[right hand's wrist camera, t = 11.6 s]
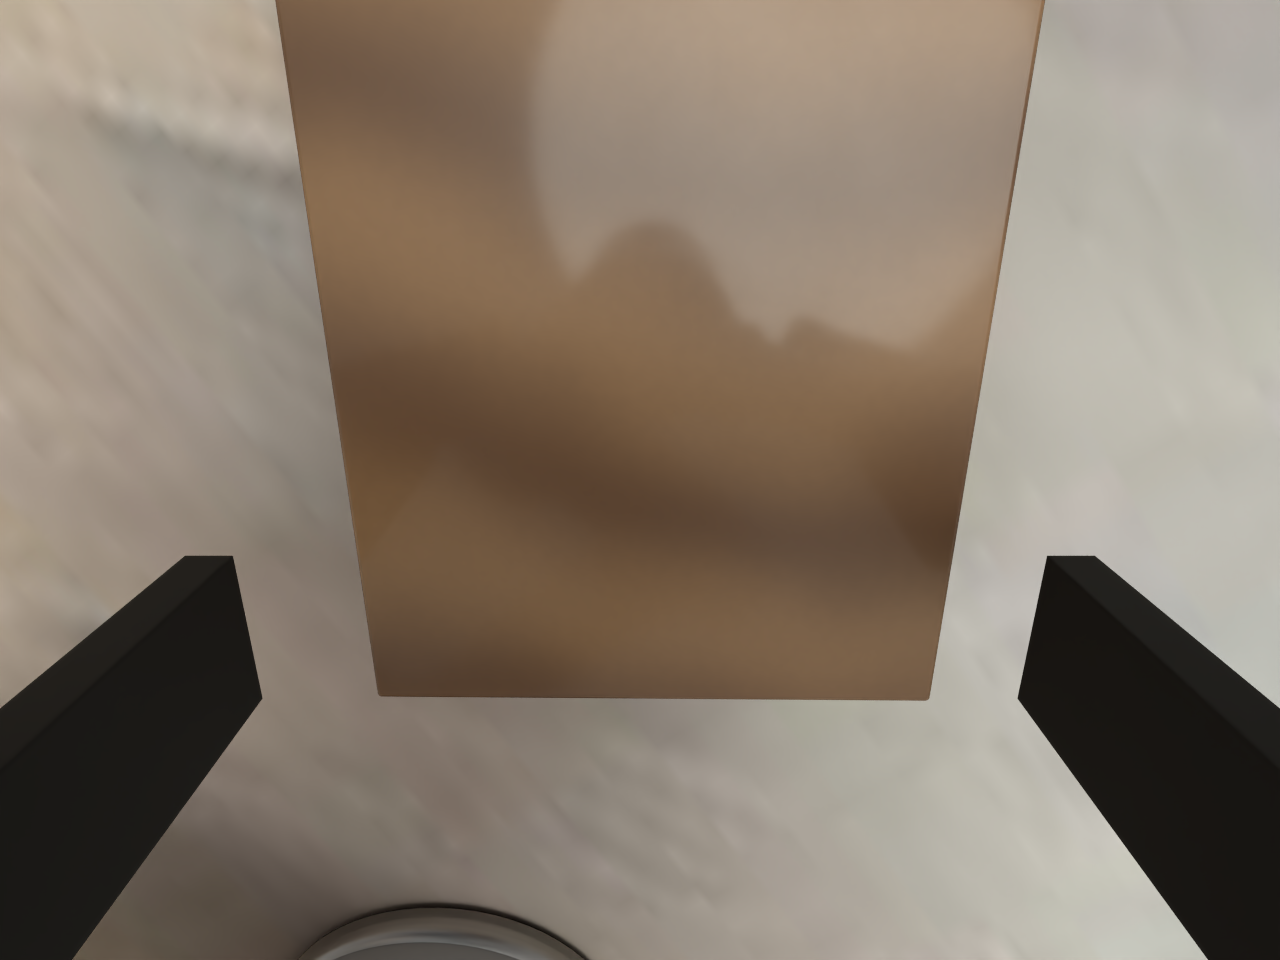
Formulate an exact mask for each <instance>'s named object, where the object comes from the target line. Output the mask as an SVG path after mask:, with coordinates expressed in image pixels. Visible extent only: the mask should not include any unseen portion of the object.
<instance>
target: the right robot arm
mask: <svg viewBox="0 0 1280 960" xmlns="http://www.w3.org/2000/svg"><path fill="white" fill-rule="evenodd" d="M261 700H262V694H261V689H260V685H259V680H258V675H257V670H256V665H255V661H254V656H253V651H252V646H251V641H250V636H249V632H248V627H247V622H246V617H245V612H244V608H243V603H242V598H241V593H240V588H239V584H238V579H237V574H236V569H235V564H234V559H233V556H184V557H183V558H182V559H181V560H180V561H178V562H177V563H176V564H175V565H174V566H172V567H171V568H170V569H169V570H167V571H166V572H165V573H164V574H163V575H161V576H160V577H159V578H158V579H157V580H155V581H154V582H153V583H152V584H151V585H149V586H148V587H147V588H146V589H144V590H143V591H142V592H141V593H140V594H138V595H137V596H136V597H135V598H134V599H132V600H131V601H130V602H129V603H128V604H126V605H125V606H124V607H123V608H121V609H120V610H119V611H118V612H117V613H115V614H114V615H113V616H112V617H111V618H109V619H108V620H107V621H106V622H104V623H103V624H102V625H101V626H100V627H98V628H97V629H96V630H95V631H94V632H92V633H91V634H90V635H89V636H88V637H86V638H85V639H84V640H83V641H81V642H80V643H79V644H78V645H77V646H75V647H74V648H73V649H72V650H71V651H69V652H68V653H67V654H66V655H64V656H63V657H62V658H61V659H60V660H58V661H57V662H56V663H55V664H54V665H52V666H51V667H50V668H49V669H48V670H46V671H45V672H44V673H43V674H41V675H40V676H39V677H38V678H37V679H35V680H34V681H33V682H32V683H31V684H29V685H28V686H27V687H26V688H25V689H23V690H22V691H21V692H20V693H18V694H17V695H16V696H15V697H14V698H12V699H11V700H10V701H9V702H8V703H6V704H5V705H4V706H3V707H1V708H0V960H72V959H73V958H74V956H75V955H76V953H77V952H78V951H79V949H80V948H81V947H82V945H83V944H84V942H85V941H86V940H87V938H88V937H89V936H90V934H91V933H92V931H93V930H94V929H95V927H96V926H97V925H98V923H99V922H100V920H101V919H102V918H103V916H104V915H105V914H106V912H107V911H108V910H109V908H110V907H111V905H112V904H113V903H114V901H115V900H116V899H117V897H118V896H119V894H120V893H121V892H122V890H123V889H124V888H125V886H126V885H127V883H128V882H129V881H130V879H131V878H132V877H133V875H134V874H135V872H136V871H137V870H138V868H139V867H140V866H141V864H142V863H143V862H144V860H145V859H146V857H147V856H148V855H149V853H150V852H151V851H152V849H153V848H154V846H155V845H156V844H157V842H158V841H159V840H160V838H161V837H162V835H163V834H164V833H165V831H166V830H167V829H168V827H169V826H170V824H171V823H172V822H173V820H174V819H175V818H176V816H177V815H178V814H179V812H180V811H181V809H182V808H183V807H184V805H185V804H186V803H187V801H188V800H189V798H190V797H191V796H192V794H193V793H194V792H195V790H196V789H197V787H198V786H199V785H200V783H201V782H202V781H203V779H204V778H205V776H206V775H207V774H208V772H209V771H210V770H211V768H212V767H213V766H214V764H215V763H216V761H217V760H218V759H219V757H220V756H221V755H222V753H223V752H224V750H225V749H226V748H227V746H228V745H229V744H230V742H231V741H232V739H233V738H234V737H235V735H236V734H237V733H238V731H239V730H240V728H241V727H242V726H243V724H244V723H245V722H246V720H247V719H248V718H249V716H250V715H251V713H252V712H253V711H254V709H255V708H256V707H257V705H258V704H259V702H260V701H261ZM1018 700H1019V701H1020V702H1021V704H1022V705H1023V707H1024V708H1025V709H1026V711H1027V712H1028V713H1029V715H1030V716H1031V718H1032V719H1033V720H1034V722H1035V723H1036V724H1037V726H1038V727H1039V728H1040V730H1041V731H1042V733H1043V734H1044V735H1045V737H1046V738H1047V739H1048V741H1049V742H1050V744H1051V745H1052V746H1053V748H1054V749H1055V750H1056V752H1057V753H1058V755H1059V756H1060V757H1061V759H1062V760H1063V761H1064V763H1065V764H1066V766H1067V767H1068V768H1069V770H1070V771H1071V772H1072V774H1073V775H1074V776H1075V778H1076V779H1077V781H1078V782H1079V783H1080V785H1081V786H1082V787H1083V789H1084V790H1085V792H1086V793H1087V794H1088V796H1089V797H1090V798H1091V800H1092V801H1093V803H1094V804H1095V805H1096V807H1097V808H1098V809H1099V811H1100V812H1101V814H1102V815H1103V816H1104V818H1105V819H1106V820H1107V822H1108V823H1109V824H1110V826H1111V827H1112V829H1113V830H1114V831H1115V833H1116V834H1117V835H1118V837H1119V838H1120V840H1121V841H1122V842H1123V844H1124V845H1125V846H1126V848H1127V849H1128V851H1129V852H1130V853H1131V855H1132V856H1133V857H1134V859H1135V860H1136V862H1137V863H1138V864H1139V866H1140V867H1141V868H1142V870H1143V871H1144V872H1145V874H1146V875H1147V877H1148V878H1149V879H1150V881H1151V882H1152V883H1153V885H1154V886H1155V888H1156V889H1157V890H1158V892H1159V893H1160V894H1161V896H1162V897H1163V899H1164V900H1165V901H1166V903H1167V904H1168V905H1169V907H1170V908H1171V910H1172V911H1173V912H1174V914H1175V915H1176V916H1177V918H1178V919H1179V920H1180V922H1181V923H1182V925H1183V926H1184V927H1185V929H1186V930H1187V931H1188V933H1189V934H1190V936H1191V937H1192V938H1193V940H1194V941H1195V942H1196V944H1197V945H1198V947H1199V948H1200V949H1201V951H1202V952H1203V953H1204V955H1205V956H1206V958H1207V959H1208V960H1280V708H1279V707H1277V706H1276V705H1275V704H1274V703H1272V702H1271V701H1270V700H1269V699H1268V698H1266V697H1265V696H1264V695H1263V694H1262V693H1260V692H1259V691H1258V690H1257V689H1255V688H1254V687H1253V686H1252V685H1251V684H1249V683H1248V682H1247V681H1246V680H1245V679H1243V678H1242V677H1241V676H1240V675H1239V674H1237V673H1236V672H1235V671H1234V670H1232V669H1231V668H1230V667H1229V666H1228V665H1226V664H1225V663H1224V662H1223V661H1222V660H1220V659H1219V658H1218V657H1217V656H1216V655H1214V654H1213V653H1212V652H1211V651H1209V650H1208V649H1207V648H1206V647H1205V646H1203V645H1202V644H1201V643H1200V642H1199V641H1197V640H1196V639H1195V638H1194V637H1192V636H1191V635H1190V634H1189V633H1188V632H1186V631H1185V630H1184V629H1183V628H1182V627H1180V626H1179V625H1178V624H1177V623H1176V622H1174V621H1173V620H1172V619H1171V618H1169V617H1168V616H1167V615H1166V614H1165V613H1163V612H1162V611H1161V610H1160V609H1159V608H1157V607H1156V606H1155V605H1154V604H1152V603H1151V602H1150V601H1149V600H1148V599H1146V598H1145V597H1144V596H1143V595H1142V594H1140V593H1139V592H1138V591H1137V590H1136V589H1134V588H1133V587H1132V586H1131V585H1129V584H1128V583H1127V582H1126V581H1125V580H1123V579H1122V578H1121V577H1120V576H1119V575H1117V574H1116V573H1115V572H1114V571H1113V570H1111V569H1110V568H1109V567H1108V566H1106V565H1105V564H1104V563H1103V562H1102V561H1100V560H1099V559H1098V558H1097V557H1096V556H1047V559H1046V564H1045V569H1044V574H1043V579H1042V584H1041V588H1040V593H1039V598H1038V603H1037V608H1036V612H1035V617H1034V622H1033V627H1032V632H1031V636H1030V641H1029V646H1028V651H1027V656H1026V661H1025V665H1024V670H1023V675H1022V680H1021V685H1020V689H1019V694H1018ZM298 960H584V959H583V958H582V957H580V956H579V955H578V954H577V953H575V952H574V951H573V950H572V949H570V948H569V947H567V946H566V945H564V944H562V943H561V942H559V941H558V940H556V939H554V938H552V937H550V936H549V935H547V934H545V933H543V932H541V931H539V930H536V929H534V928H532V927H530V926H527V925H524V924H522V923H519V922H516V921H513V920H510V919H507V918H503V917H500V916H496V915H492V914H487V913H482V912H477V911H470V910H462V909H451V908H415V909H403V910H397V911H391V912H385V913H381V914H377V915H373V916H369V917H366V918H363V919H360V920H357V921H354V922H352V923H349V924H347V925H345V926H342V927H340V928H338V929H336V930H335V931H333V932H331V933H329V934H327V935H326V936H324V937H323V938H322V939H320V940H319V941H317V942H316V943H315V944H313V945H312V946H311V947H310V948H309V949H308V950H307V951H306V952H304V954H303V955H302V956H301V957H300V958H299V959H298Z"/></svg>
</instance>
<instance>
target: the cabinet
mask: <svg viewBox="0 0 1280 960" xmlns="http://www.w3.org/2000/svg"><path fill="white" fill-rule="evenodd" d="M275 1H276V7H277V14H278V21H279V28H280V34H281V41H282V48H283V55H284V61H285V68H286V75H287V82H288V88H289V95H290V102H291V109H292V116H293V122H294V129H295V136H296V143H297V149H298V156H299V163H300V170H301V176H302V183H303V190H304V197H305V203H306V210H307V217H308V224H309V230H310V237H311V244H312V251H313V257H314V264H315V271H316V278H317V284H318V291H319V298H320V305H321V311H322V318H323V325H324V332H325V338H326V345H327V352H328V359H329V366H330V372H331V379H332V386H333V393H334V399H335V406H336V413H337V420H338V426H339V433H340V440H341V447H342V453H343V460H344V467H345V474H346V480H347V487H348V494H349V501H350V507H351V514H352V521H353V528H354V534H355V541H356V548H357V555H358V561H359V568H360V575H361V582H362V588H363V595H364V602H365V609H366V616H367V622H368V629H369V636H370V643H371V649H372V656H373V663H374V670H375V676H376V683H377V690H378V694H379V696H397V697H528V698H658V699H789V700H920V701H926V700H928V699H929V697H930V691H931V685H932V679H933V672H934V666H935V660H936V654H937V648H938V642H939V636H940V630H941V624H942V618H943V612H944V606H945V600H946V594H947V588H948V582H949V576H950V570H951V564H952V558H953V552H954V546H955V540H956V534H957V528H958V522H959V516H960V510H961V504H962V498H963V492H964V486H965V479H966V473H967V467H968V461H969V455H970V449H971V443H972V437H973V431H974V425H975V419H976V413H977V407H978V401H979V395H980V389H981V383H982V377H983V371H984V365H985V359H986V353H987V347H988V341H989V335H990V329H991V323H992V317H993V311H994V305H995V299H996V293H997V287H998V280H999V274H1000V268H1001V262H1002V256H1003V250H1004V244H1005V238H1006V232H1007V226H1008V220H1009V214H1010V208H1011V202H1012V196H1013V190H1014V184H1015V178H1016V172H1017V166H1018V160H1019V154H1020V148H1021V142H1022V136H1023V130H1024V124H1025V118H1026V112H1027V106H1028V100H1029V94H1030V87H1031V81H1032V75H1033V69H1034V63H1035V57H1036V51H1037V45H1038V39H1039V33H1040V27H1041V21H1042V15H1043V9H1044V3H1045V0H275Z"/></svg>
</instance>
